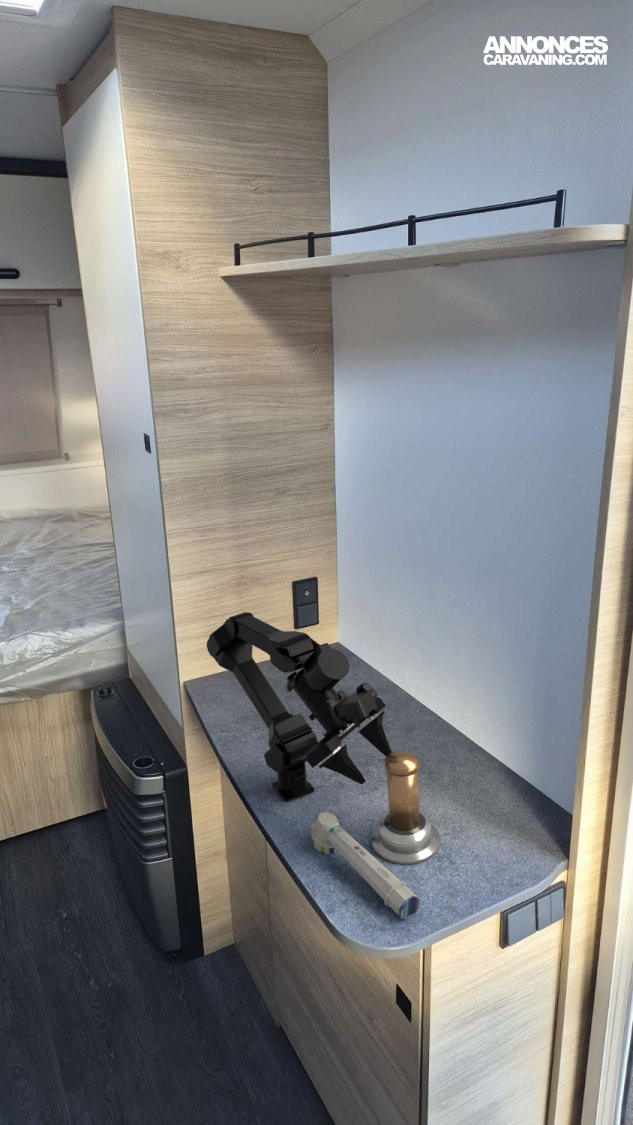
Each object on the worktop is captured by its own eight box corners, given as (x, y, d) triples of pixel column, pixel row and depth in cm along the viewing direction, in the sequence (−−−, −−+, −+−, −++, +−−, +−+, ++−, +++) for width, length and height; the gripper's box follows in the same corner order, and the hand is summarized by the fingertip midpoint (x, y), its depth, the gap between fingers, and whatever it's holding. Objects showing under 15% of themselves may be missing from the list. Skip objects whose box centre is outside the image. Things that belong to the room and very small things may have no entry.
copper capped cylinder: (381, 818, 138) (378, 756, 134) (409, 807, 141) (406, 746, 137) (399, 836, 133) (396, 772, 129) (427, 824, 136) (425, 762, 132)
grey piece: (398, 906, 119) (304, 810, 137) (396, 938, 121) (304, 839, 140) (424, 890, 121) (329, 798, 140) (421, 922, 124) (328, 827, 143)
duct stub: (358, 834, 141) (357, 815, 140) (415, 812, 146) (414, 793, 145) (395, 873, 131) (394, 853, 129) (454, 848, 136) (453, 828, 134)
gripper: (315, 699, 128) (377, 777, 125) (374, 655, 142) (431, 724, 139) (280, 730, 135) (338, 805, 132) (340, 685, 149) (393, 751, 146)
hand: (377, 769), depth 137 cm, fingers open, 9 cm apart
